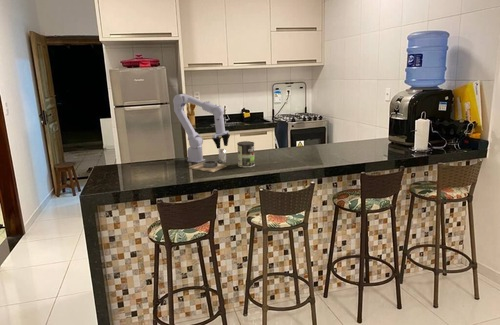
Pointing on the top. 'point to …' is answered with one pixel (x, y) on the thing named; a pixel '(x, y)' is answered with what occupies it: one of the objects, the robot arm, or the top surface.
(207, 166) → the steel ring
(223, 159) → the aluminium piston
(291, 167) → the top surface
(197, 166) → the birch board
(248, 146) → the coffee can
